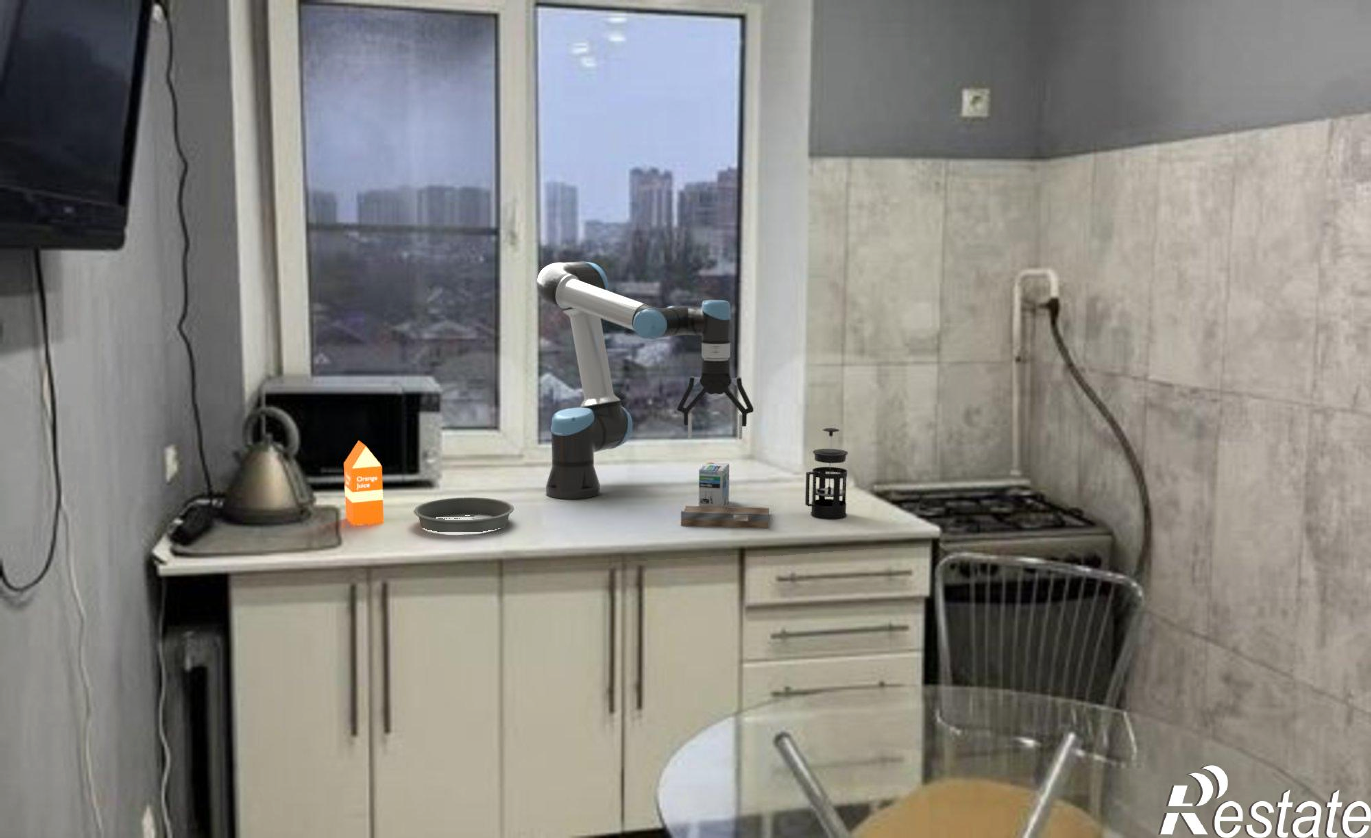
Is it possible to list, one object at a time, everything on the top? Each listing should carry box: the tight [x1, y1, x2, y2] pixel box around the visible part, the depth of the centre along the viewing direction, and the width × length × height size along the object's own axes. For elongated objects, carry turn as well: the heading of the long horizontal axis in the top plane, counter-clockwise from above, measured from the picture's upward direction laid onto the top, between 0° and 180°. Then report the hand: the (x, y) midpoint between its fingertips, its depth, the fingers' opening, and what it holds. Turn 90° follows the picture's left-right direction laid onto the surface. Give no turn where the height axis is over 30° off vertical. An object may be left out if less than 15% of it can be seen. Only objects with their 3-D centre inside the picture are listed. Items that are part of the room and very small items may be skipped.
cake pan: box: [413, 496, 515, 532], centre depth 297 cm, size 25×25×4 cm
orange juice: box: [343, 440, 385, 526], centre depth 298 cm, size 8×9×20 cm
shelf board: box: [680, 505, 770, 529], centre depth 304 cm, size 22×15×4 cm
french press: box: [804, 427, 849, 521], centre depth 308 cm, size 12×9×23 cm
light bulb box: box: [698, 461, 730, 507], centre depth 319 cm, size 11×7×11 cm, turn 168°
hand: (715, 438), depth 317 cm, fingers open, 13 cm apart
